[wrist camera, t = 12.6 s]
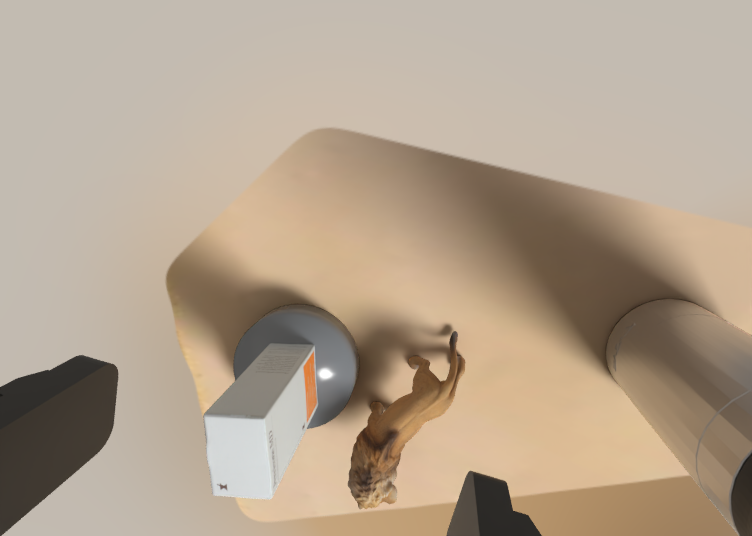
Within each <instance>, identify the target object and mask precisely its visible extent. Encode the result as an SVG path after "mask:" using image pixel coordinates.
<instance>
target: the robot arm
mask: <svg viewBox="0 0 752 536" xmlns="http://www.w3.org/2000/svg"><path fill="white" fill-rule="evenodd" d="M606 360H607V364H608V368H609V370H610V373H611V375H612V377H613V378H614V379H615V381H616V382H617V383H618V384H619V386H620V387H621V388H622V390H623V391H624V392H625V393H626V395H627V396H628V397H629V398H630V400H631V401H632V402H633V404H634V405H635V406H636V408H637V409H638V410H639V411H640V413H641V414H642V415H643V416H644V418H645V419H646V420H647V421H648V423H649V424H650V425H651V426H652V428H653V429H654V430H655V431H656V433H657V434H658V435H659V437H660V438H661V439H662V440H663V442H664V443H665V444H666V445H667V447H668V448H669V449H670V450H671V452H672V453H673V454H674V455H675V457H676V458H677V459H678V460H679V462H680V463H681V464H682V465H683V467H684V468H685V469H686V470H687V472H688V473H689V474H690V475H691V477H692V478H693V479H694V480H695V482H696V483H697V484H698V485H699V486H700V488H701V489H702V490H703V492H704V493H705V494H706V495H707V497H708V498H709V499H710V500H711V501H712V503H713V504H714V505H715V506H716V507H717V509H718V510H719V511H720V513H721V514H722V515H723V516H724V518H725V519H726V520H727V521H728V523H729V524H730V525H731V526H732V527H733V529H734V530H735V531H736V533H737V534H738V535H739V536H752V335H750V334H748V333H746V332H745V331H743V330H741V329H739V328H738V327H736V326H734V325H733V324H731V323H729V322H727V321H726V320H724V319H722V318H720V317H718V316H717V315H715V314H713V313H711V312H709V311H708V310H706V309H704V308H702V307H700V306H698V305H696V304H694V303H691V302H688V301H684V300H678V299H662V300H655V301H652V302H648V303H645V304H642V305H640V306H639V307H637V308H635V309H633V310H631V311H630V312H629V313H627V314H626V315H625V316H624V317H622V319H621V320H620V321H619V322H618V323H617V324H616V326H615V327H614V329H613V331H612V333H611V334H610V336H609V339H608V343H607V347H606ZM117 382H118V369H117V367H116V366H115V365H114V364H110V363H107V362H104V361H100V360H97V359H93V358H90V357H86V356H83V355H79V356H76V357H74V358H72V359H70V360H68V361H67V362H65V363H63V364H61V365H59V366H57V367H55V368H53V369H52V370H50V371H49V370H45V371H42V372H38V373H35V374H31V375H28V376H24V377H21V378H18V379H15V380H13V381H11V382H9V383H8V384H6V385H4V386H2V387H0V536H1V535H2V534H4V533H5V532H6V531H7V530H8V529H10V528H11V527H12V526H13V525H14V524H15V523H17V522H18V521H19V520H20V519H21V518H22V517H24V516H25V515H26V514H27V513H28V512H29V511H31V510H32V509H33V508H34V507H35V506H37V505H38V504H39V503H40V502H41V501H42V500H44V499H45V498H46V497H47V496H48V495H49V494H51V493H52V492H53V491H54V490H55V489H56V488H58V487H59V486H60V485H61V484H62V483H63V482H65V481H66V480H67V479H68V478H69V477H70V476H72V475H73V474H74V473H75V472H76V471H77V470H79V469H80V468H81V467H82V466H83V465H84V464H85V463H87V462H88V461H89V460H90V459H91V458H93V457H94V456H95V455H96V454H97V453H98V452H99V451H100V450H101V449H102V448H103V446H104V445H105V444H106V442H107V440H108V438H109V436H110V434H111V432H112V429H113V424H114V415H115V405H116V404H115V403H116V394H117ZM447 536H541V534H540V532H539V531H538V529H537V528H536V526H535V525H534V523H533V522H532V521H531V519H530V518H529V516H528V515H526V514H522V513H519V512H515V511H513V509H512V505H511V500H510V495H509V490H508V486H507V483H506V482H505V481H503V480H500V479H497V478H493V477H490V476H486V475H483V474H480V473H476V472H473V471H469V472H468V474H467V476H466V478H465V481H464V484H463V487H462V490H461V493H460V496H459V499H458V502H457V505H456V508H455V511H454V514H453V516H452V519H451V522H450V525H449V528H448V532H447Z"/></svg>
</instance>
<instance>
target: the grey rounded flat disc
mask: <svg viewBox="0 0 752 536" xmlns="http://www.w3.org/2000/svg"><path fill="white" fill-rule="evenodd" d="M271 343H277V344H312V345H314V346H315V365H316V384H317V399H318V407H317V409H316V411H315V413H314V415H313V417H312V419H311V421H310V423H309V425H308V427H307V429H309V428H314V427H318V426H321V425H323V424H326V423H327V422H329V421H331V420H332V419H334V418H335V417H336V416H337V415H338V414H339V413H340V412H341V411H342V410H343V409H344V407H345V406H346V404H347V403H348V401H349V399H350V396H351V393H352V391H353V388H354V386H355V383H356V380H357V377H358V373H359V353H358V349H357V346H356V343H355V341H354V339H353V337H352V335H351V333H350V332H349V331H348V329H347V328H346V327H345V326H344V325H343V323H342V322H341V321H339V320H338V319H337V318H336V317H335V316H333V315H332V314H330V313H329V312H327V311H325V310H322V309H320V308H317V307H314V306H310V305H304V304H291V305H286V306H282V307H279V308H276V309H274V310H272V311H270V312H269V313H267V314H266V315H264V316H263V317H262V318H261V319H260V320H259V321H258V322H257V323H255V324H254V325H253V326H252V327H251V328H250V329H249V330H248V331H247V332H246V333H245V334H244V335H243V337H242V338H241V340H240V342H239V343H238V346H237V348H236V352H235V356H234V364H233V365H234V376H235V380H237V378H238V377H239V376H240V375H241V374H242V373H243V372H244V371H245V370H246V369H247V368H248V367H249V366H250V365H251V363H252V362H253V361H254V360H255V359H256V358H257V357H258V356H259V355H260V354H261V353H262V352H263V351H264V349H265V348H266V347H267V346H268V345H269V344H271Z"/></svg>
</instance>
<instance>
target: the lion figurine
mask: <svg viewBox="0 0 752 536" xmlns="http://www.w3.org/2000/svg"><path fill="white" fill-rule="evenodd" d="M457 337H458V334H457V332H456V331H454V332H453V333H452V335H451V338H450V342H449V344H450V352H451V365H450V370H449V374H448V377H447V379H446V381H441V382H440V381H439V380H438V378H437V377H436V376H435V375H434V374H433V373H432V372H431V371H430V370H429V366H430V362H429V361H428V360H426V359H423V358H421V357H419V356H413V357H411V358H409V361H408V364H409V366H410V367H411V368H412V369H418V370H417V372H416V374H415V376H414V379H413V387H412V390H413V392H412V393H410V394H408V395H405V396H403V397H401V398H399V399H398V400H396V401H395V402H394V403H393V404H391V405H390V406H389V407H388V409H387V410H386V411H385V412H384V413H383V409H384V408H383V405H382V404H381V403H380V402H373V403H371V405H370V407H371V408H370V409H371V411H372V413H371V415H370V416H369V418H368V425H367V427H366V428H364V429H363V431H361V432H360V434H359V435H358V436H357V441H356V443H355V444H354V447H353V453H352V457H351V469H350V471H349V481H348V487H349V488H350V489H351V493H352V496H353V497H354V498H355V500H356V501H357V503H358V507H359V509H362V508H365V509H367V508H374V507H375V508H376V507H377V506H378V505H379V503H382V502H387V503H388V504H392V503H395V502H396V500H397V497H396V496H397V489H396V487H395V486H394V485H393V483H394V480H395V479H396V477H397V471H396V468H397V466H398V464H399V460H400V455H401V451H402V449H403V448H404V446H405V443H406V442H408V441H409V440H410V439H411V438H412V437H413V436H414V435H415V434H416V433H417V432H418V431H419V429H420V428H421V426H422V425H423V424H424V423H425V422H427V421H429V420H432V419H434V418H437V417H439V416H441V415H443V414H444V413H445V412H446V410H447V409H448V408H449V406H450V405H451V403H452V402H453V399H454V396H455V391H456V387H457V383H458V381H459V379H460V377H461V376H462V375H463V374H464V371H465V360H464V358H462V357H460V356H457V352H456V342H457ZM382 413H383V414H382Z"/></svg>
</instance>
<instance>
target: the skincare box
mask: <svg viewBox="0 0 752 536" xmlns="http://www.w3.org/2000/svg"><path fill="white" fill-rule="evenodd" d="M317 407H318V399H317V384H316V365H315V346H314V345H312V344H277V343H271V344H269V345H268V346H267V347H266V348H265V349H264V351H263V352H262V353H261V354H260V355H259V356H258V357H257V358H256V359H255V360H254V361H253V362H252V363H251V365H250V366H249V367H248V368H247V369H246V370H245V371H244V372H243V373H242V374H241V375H240V376H239V377H238V378H237V380H236V381H235V382H234V383H233V384H232V385H231V386H230V387H229V388H228V389H227V390H226V391H225V392H224V394H223V395H222V396H221V397H220V398H219V399H218V400H217V401H216V402H215V403H214V404H213V405H212V406H211V407H210V408H209V409H208V410H207V411H206V412H205V414H204V416H203V418H204V426H205V435H206V453H207V462H208V465H209V471H210V478H211V486H212V494H213V495H214V496H229V497H241V498H253V499H271V498H272V497H273V495H274V493H275V491H276V489H277V487H278V485H279V483H280V481H281V479H282V477H283V475H284V473H285V471H286V469H287V467H288V465H289V463H290V461H291V459H292V457H293V455H294V453H295V451H296V449H297V447H298V445H299V443H300V441H301V439H302V437H303V435H304V433H305V431H306V429H307V427H308V425H309V423H310V421H311V419H312V417H313V415H314V413H315V411H316V409H317Z"/></svg>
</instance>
